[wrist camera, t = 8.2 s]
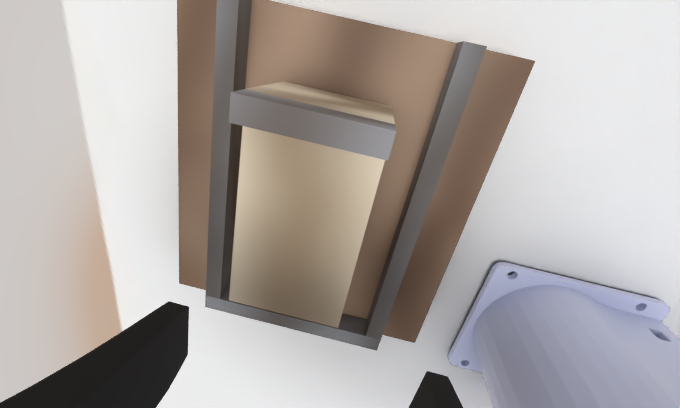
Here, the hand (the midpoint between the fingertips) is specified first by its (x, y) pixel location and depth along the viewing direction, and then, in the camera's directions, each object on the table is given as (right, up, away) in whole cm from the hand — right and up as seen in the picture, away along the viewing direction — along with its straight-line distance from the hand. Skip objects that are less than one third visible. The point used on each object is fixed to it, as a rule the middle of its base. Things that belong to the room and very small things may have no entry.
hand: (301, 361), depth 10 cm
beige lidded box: (0, +6, +5) cm, 8 cm away
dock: (0, +6, +8) cm, 10 cm away
